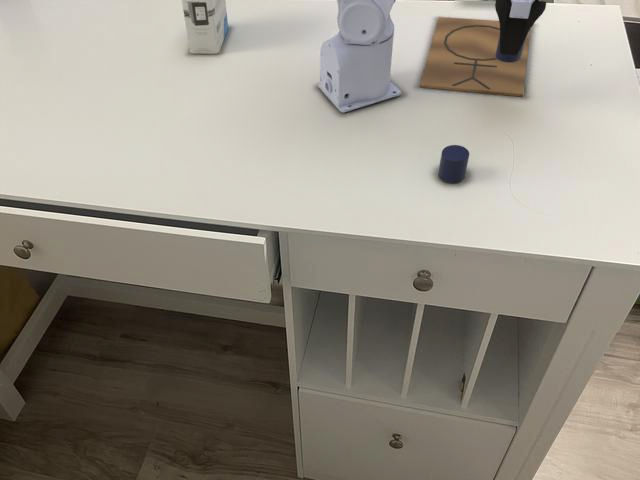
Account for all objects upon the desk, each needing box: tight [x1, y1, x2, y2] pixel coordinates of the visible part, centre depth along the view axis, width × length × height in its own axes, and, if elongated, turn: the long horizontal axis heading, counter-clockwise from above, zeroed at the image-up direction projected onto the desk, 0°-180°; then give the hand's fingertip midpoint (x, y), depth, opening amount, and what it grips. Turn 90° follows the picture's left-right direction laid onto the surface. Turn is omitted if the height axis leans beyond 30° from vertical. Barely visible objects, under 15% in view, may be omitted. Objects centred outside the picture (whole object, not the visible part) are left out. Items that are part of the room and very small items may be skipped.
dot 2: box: [495, 36, 527, 63], centre depth 85 cm, size 3×3×3 cm
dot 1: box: [437, 144, 470, 184], centre depth 81 cm, size 3×3×3 cm
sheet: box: [419, 16, 531, 98], centre depth 99 cm, size 20×14×1 cm
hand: (509, 45), depth 85 cm, fingers closed on dot 2, 3 cm apart
